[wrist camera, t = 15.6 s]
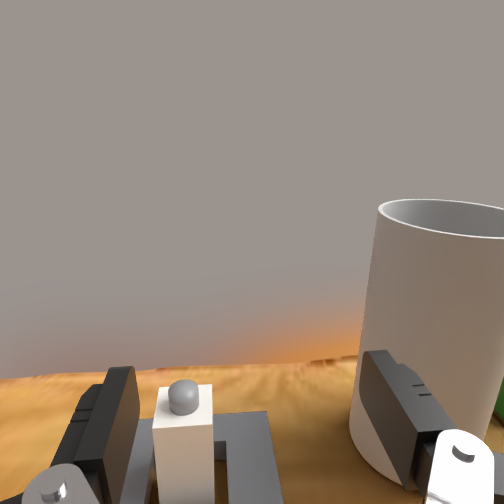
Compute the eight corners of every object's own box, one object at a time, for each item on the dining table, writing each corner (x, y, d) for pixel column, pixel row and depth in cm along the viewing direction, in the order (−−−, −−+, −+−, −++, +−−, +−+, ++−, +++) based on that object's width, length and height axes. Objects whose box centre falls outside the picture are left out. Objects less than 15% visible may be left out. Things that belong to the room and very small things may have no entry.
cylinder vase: (454, 408, 45) (507, 203, 36) (494, 510, 33) (587, 245, 24) (346, 392, 47) (372, 195, 38) (350, 481, 36) (387, 230, 27)
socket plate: (265, 428, 41) (266, 411, 40) (291, 574, 28) (292, 553, 27) (116, 439, 40) (114, 421, 39) (71, 599, 27) (65, 577, 26)
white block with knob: (214, 471, 36) (211, 370, 32) (214, 518, 32) (211, 408, 28) (167, 475, 36) (158, 373, 32) (161, 524, 32) (150, 412, 28)
